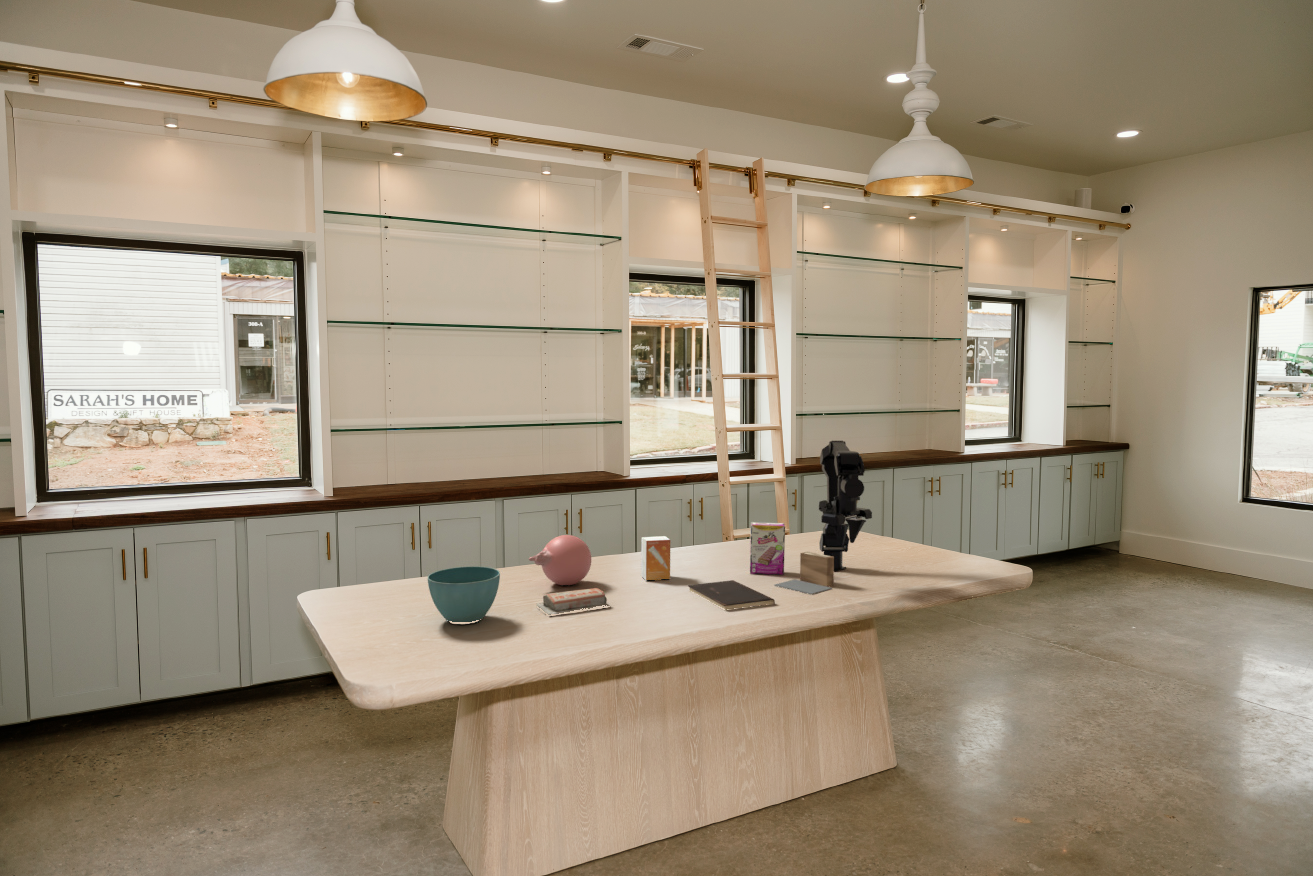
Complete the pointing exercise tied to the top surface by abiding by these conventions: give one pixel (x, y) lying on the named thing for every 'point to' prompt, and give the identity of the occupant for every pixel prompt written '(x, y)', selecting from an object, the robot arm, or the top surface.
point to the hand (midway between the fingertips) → (846, 544)
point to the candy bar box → (767, 548)
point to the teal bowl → (464, 592)
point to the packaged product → (572, 600)
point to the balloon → (564, 560)
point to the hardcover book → (730, 594)
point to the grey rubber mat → (803, 586)
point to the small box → (655, 558)
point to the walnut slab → (817, 569)
